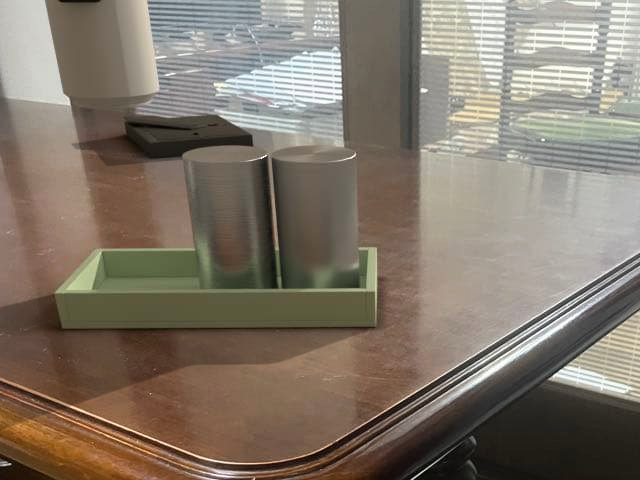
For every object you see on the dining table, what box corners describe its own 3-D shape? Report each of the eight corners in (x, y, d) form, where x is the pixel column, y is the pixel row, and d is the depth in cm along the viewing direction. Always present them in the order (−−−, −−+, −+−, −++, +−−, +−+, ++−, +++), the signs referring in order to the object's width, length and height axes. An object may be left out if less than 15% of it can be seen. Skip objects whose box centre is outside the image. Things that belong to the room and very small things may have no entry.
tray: (62, 329, 74) (53, 293, 72) (101, 280, 84) (95, 248, 83) (376, 327, 74) (375, 291, 73) (377, 279, 85) (376, 247, 83)
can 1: (139, 93, 75) (113, -77, 68) (176, 104, 70) (152, -78, 64) (52, 101, 72) (15, -78, 65) (85, 113, 67) (48, -79, 60)
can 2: (195, 309, 76) (174, 162, 69) (208, 283, 82) (190, 145, 75) (275, 309, 76) (262, 162, 69) (283, 283, 82) (272, 145, 75)
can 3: (278, 309, 76) (266, 162, 69) (286, 283, 82) (275, 145, 75) (359, 308, 76) (354, 162, 70) (360, 282, 82) (356, 145, 75)
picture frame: (126, 135, 147) (152, 158, 131) (123, 116, 145) (149, 137, 130) (218, 127, 152) (253, 149, 137) (216, 109, 151) (251, 129, 135)
